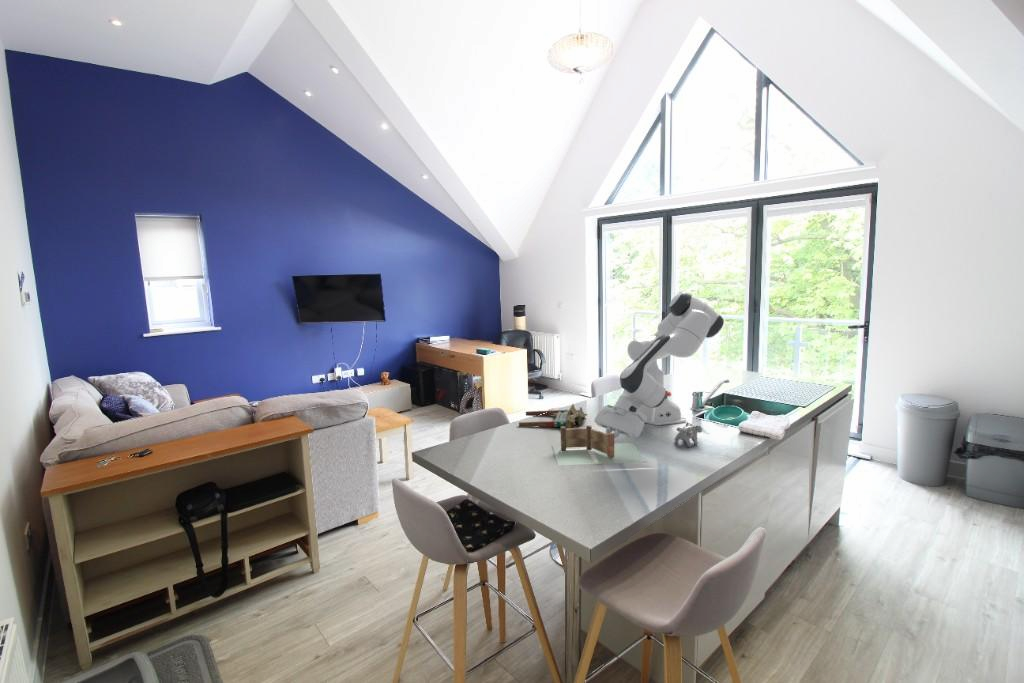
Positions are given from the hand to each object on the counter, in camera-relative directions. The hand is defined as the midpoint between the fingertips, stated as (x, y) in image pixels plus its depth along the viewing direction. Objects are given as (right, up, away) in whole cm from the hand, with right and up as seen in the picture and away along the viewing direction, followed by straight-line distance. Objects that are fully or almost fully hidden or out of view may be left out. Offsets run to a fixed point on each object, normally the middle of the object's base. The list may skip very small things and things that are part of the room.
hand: (608, 440), depth 180 cm
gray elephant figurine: (+35, -4, +13) cm, 37 cm away
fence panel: (-2, -5, +2) cm, 6 cm away
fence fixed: (-11, -5, +7) cm, 14 cm away
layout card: (-4, -6, +3) cm, 8 cm away
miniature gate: (-16, -1, +46) cm, 49 cm away
